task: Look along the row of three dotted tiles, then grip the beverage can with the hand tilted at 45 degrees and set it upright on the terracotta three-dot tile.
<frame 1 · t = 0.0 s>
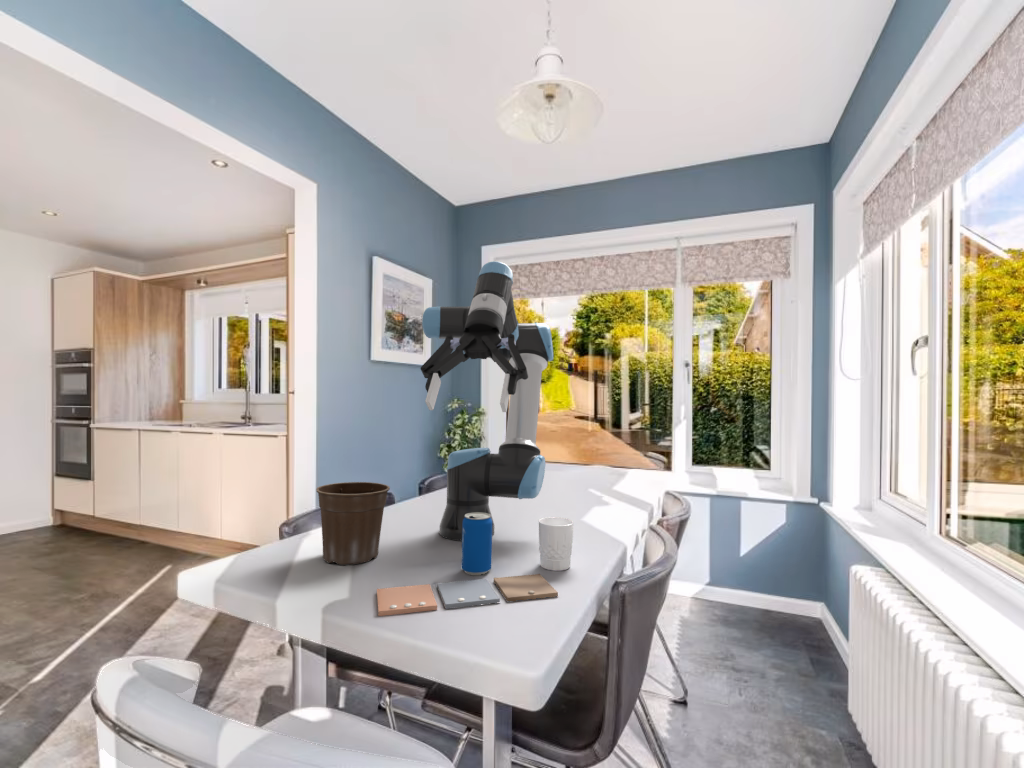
hand: (465, 407, 85), 36 cm above the table, tool tilted 35°, fingers open, 13 cm apart
plant pot: (351, 557, 113), on the table
beverage can: (476, 572, 105), on the table
three-dot tile: (405, 601, 89), on the table
two-dot tile: (467, 594, 92), on the table
white cup: (555, 566, 109), on the table
one-dot tile: (524, 589, 96), on the table
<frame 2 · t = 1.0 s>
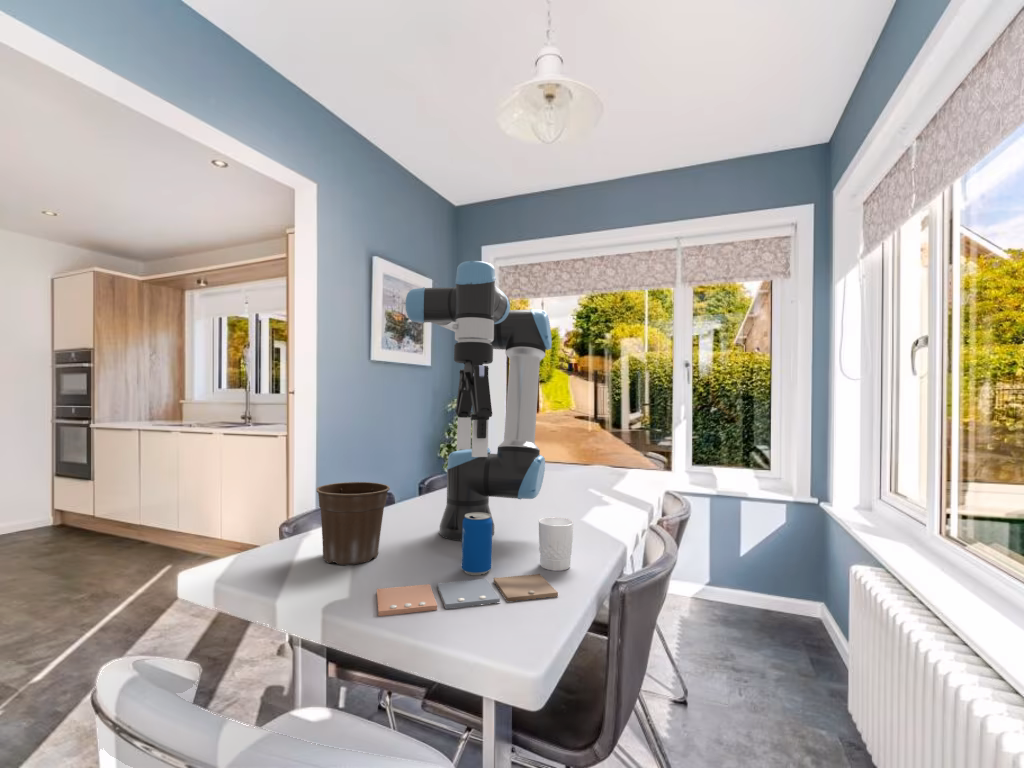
hand: (471, 453, 93), 27 cm above the table, tool pointing down, fingers open, 13 cm apart
nothing on the table moved.
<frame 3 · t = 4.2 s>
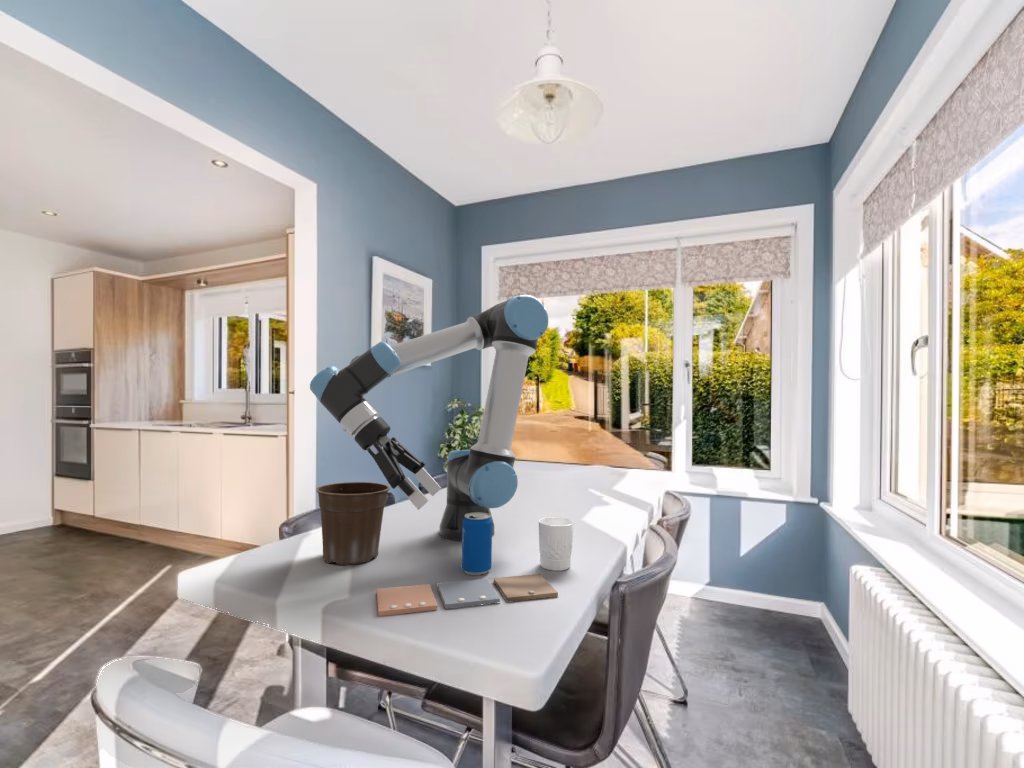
hand: (431, 498, 106), 15 cm above the table, tool tilted 45°, fingers open, 13 cm apart
nothing on the table moved.
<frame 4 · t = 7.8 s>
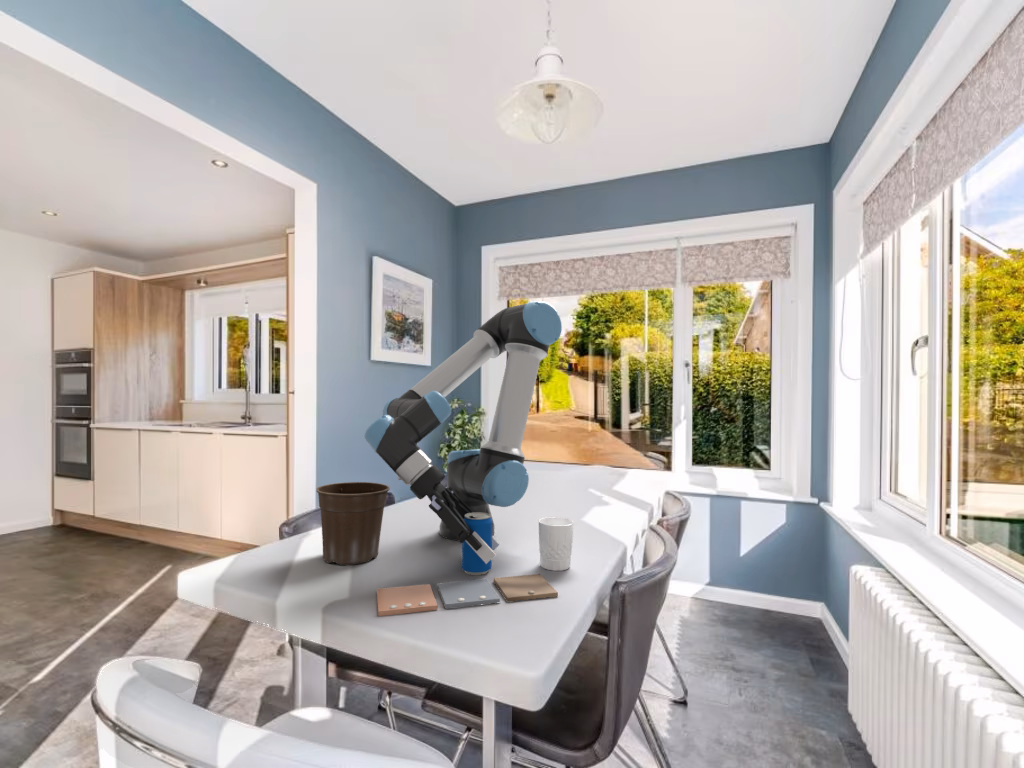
hand: (493, 553, 105), 4 cm above the table, tool tilted 45°, fingers closed on beverage can, 6 cm apart
beverage can: (476, 571, 105), on the table, touching gripper
everything else where it was.
when the fingers open (6 cm above the table, at t = 13.8 s): beverage can drops 1 cm, resting on three-dot tile.
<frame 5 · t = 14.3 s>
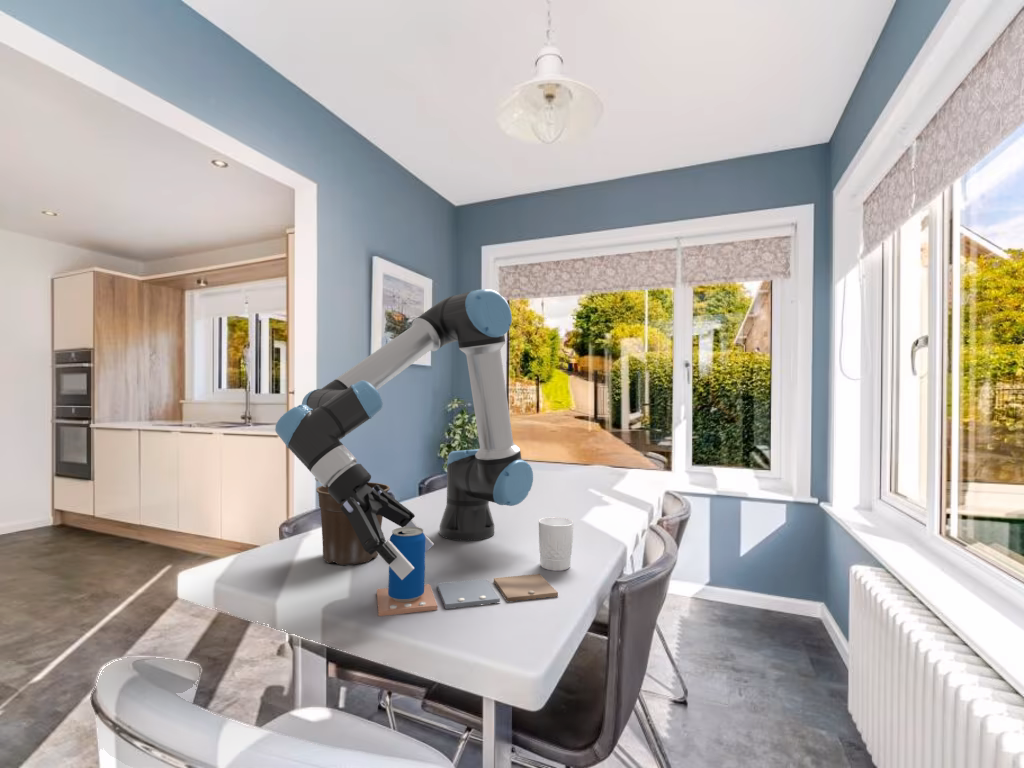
hand: (419, 560, 89), 7 cm above the table, tool tilted 45°, fingers open, 13 cm apart
beverage can: (406, 597, 89), point 1 cm above the table, touching three-dot tile
everything else where it was.
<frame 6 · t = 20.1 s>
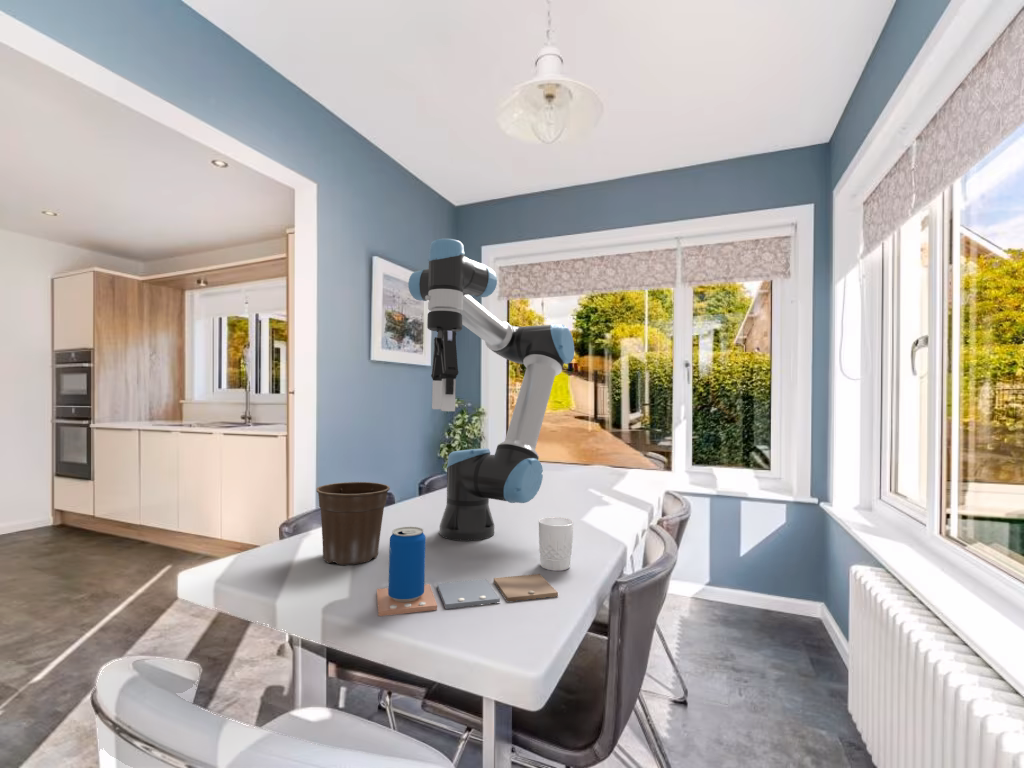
hand: (442, 410, 105), 35 cm above the table, tool pointing down, fingers open, 13 cm apart
nothing on the table moved.
at the end: beverage can 0.1 cm off-centre on the three-dot tile, point 0.6 cm above the three-dot tile's base; beverage can tilted 0°; the gripper is holding nothing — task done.
